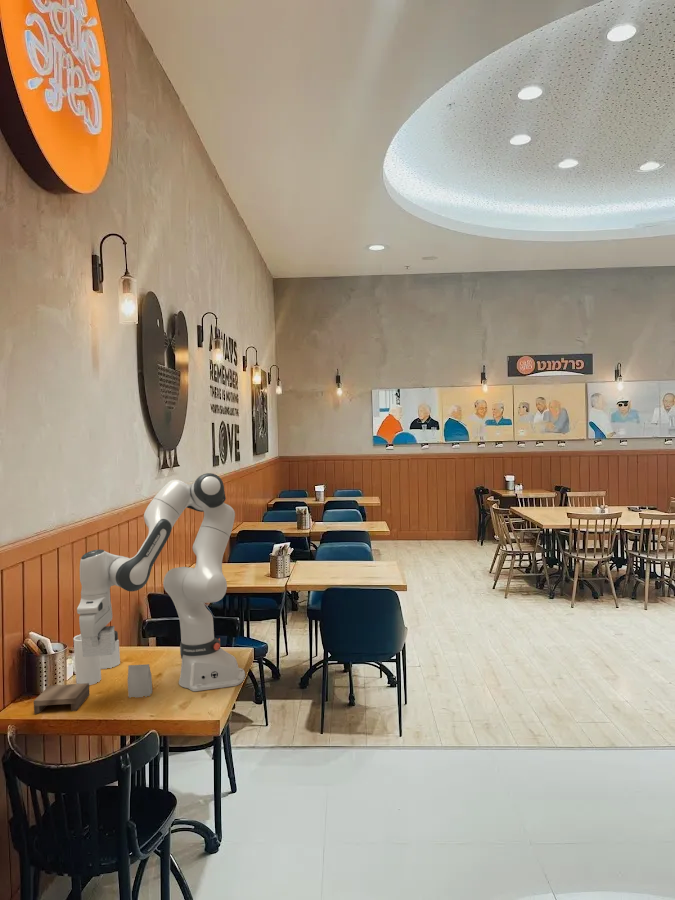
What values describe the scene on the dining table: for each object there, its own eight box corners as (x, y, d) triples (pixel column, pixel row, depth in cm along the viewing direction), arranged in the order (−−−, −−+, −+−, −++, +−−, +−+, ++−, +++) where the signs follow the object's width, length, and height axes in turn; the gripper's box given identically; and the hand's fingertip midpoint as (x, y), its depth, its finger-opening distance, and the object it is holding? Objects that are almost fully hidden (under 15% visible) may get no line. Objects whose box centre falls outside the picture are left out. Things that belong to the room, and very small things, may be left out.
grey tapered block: (149, 696, 210) (147, 666, 209) (128, 697, 210) (126, 667, 209) (152, 692, 213) (150, 662, 213) (132, 693, 213) (130, 663, 213)
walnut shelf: (89, 695, 213) (88, 683, 213) (76, 710, 201) (75, 698, 201) (49, 697, 213) (49, 685, 213) (34, 713, 201) (33, 701, 201)
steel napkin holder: (115, 649, 210) (114, 625, 210) (111, 655, 206) (109, 630, 205) (87, 651, 210) (85, 627, 210) (82, 656, 205) (80, 632, 205)
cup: (92, 686, 221) (89, 640, 220) (71, 685, 223) (68, 640, 222) (105, 677, 229) (103, 632, 228) (85, 676, 231) (82, 632, 230)
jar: (94, 664, 242) (92, 633, 242) (116, 659, 247) (114, 628, 246) (99, 671, 235) (97, 639, 234) (122, 666, 239) (120, 634, 239)
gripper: (96, 593, 217) (99, 633, 218) (74, 610, 197) (77, 654, 197) (115, 592, 218) (118, 632, 218) (95, 609, 197) (98, 653, 198)
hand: (98, 643), depth 208 cm, fingers closed on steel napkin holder, 4 cm apart
